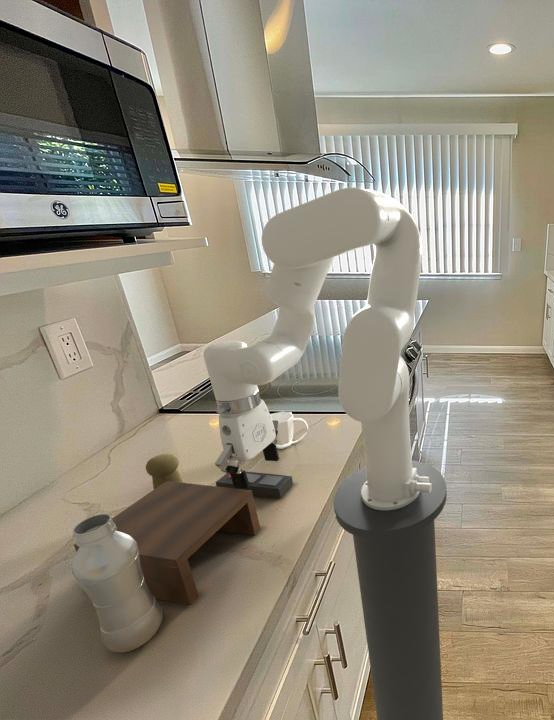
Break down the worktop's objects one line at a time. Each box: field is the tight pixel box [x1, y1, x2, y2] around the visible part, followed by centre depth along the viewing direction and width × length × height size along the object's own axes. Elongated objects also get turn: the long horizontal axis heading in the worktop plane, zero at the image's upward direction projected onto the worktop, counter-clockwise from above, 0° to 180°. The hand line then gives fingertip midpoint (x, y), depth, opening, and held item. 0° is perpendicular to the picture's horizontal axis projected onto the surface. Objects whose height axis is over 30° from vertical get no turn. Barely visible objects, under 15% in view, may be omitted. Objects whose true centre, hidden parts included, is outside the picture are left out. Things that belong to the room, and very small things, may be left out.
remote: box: [215, 470, 294, 499], centre depth 87 cm, size 15×5×3 cm, turn 81°
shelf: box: [73, 481, 261, 606], centre depth 68 cm, size 18×16×9 cm
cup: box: [270, 410, 309, 450], centre depth 103 cm, size 7×10×8 cm
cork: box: [145, 452, 186, 490], centre depth 81 cm, size 6×6×11 cm
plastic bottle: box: [71, 513, 163, 653], centre depth 53 cm, size 6×7×20 cm
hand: (258, 473), depth 86 cm, fingers open, 9 cm apart
